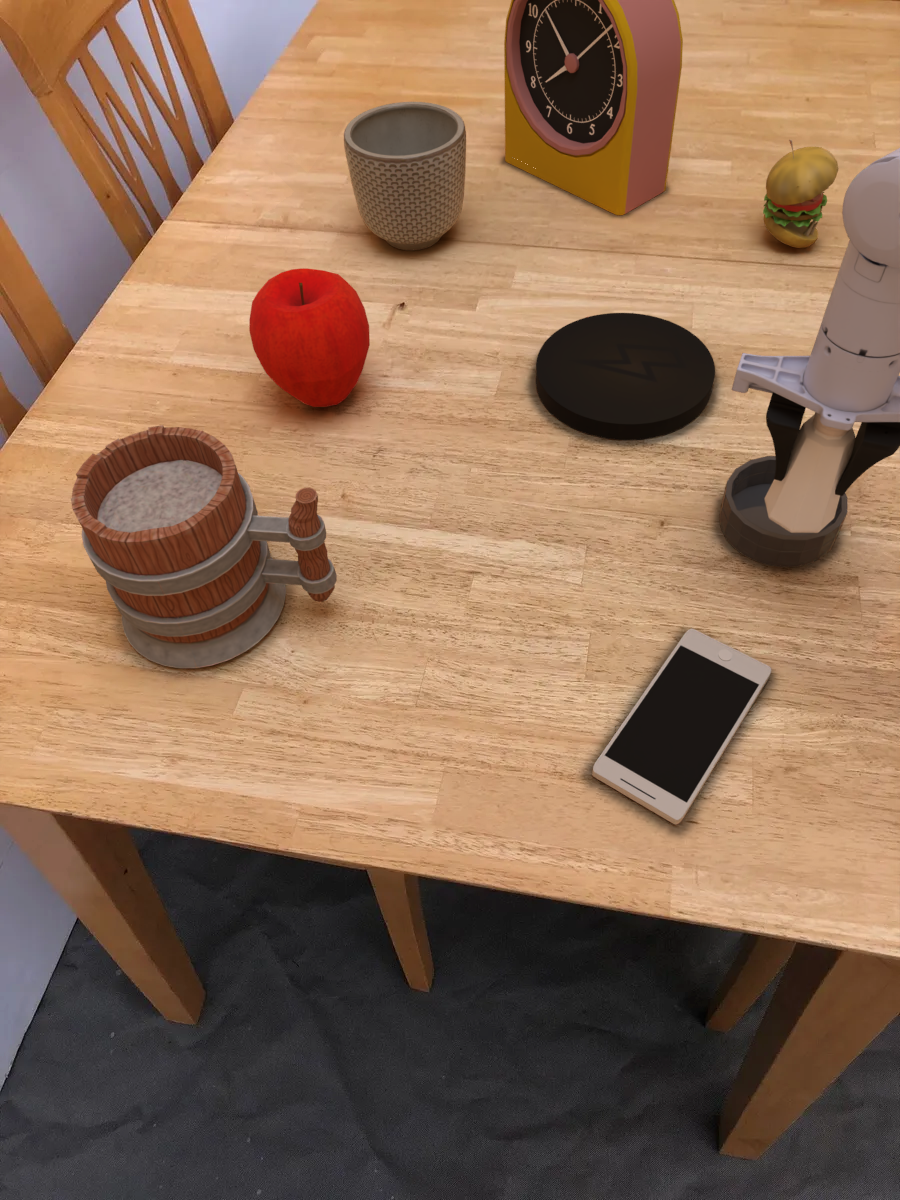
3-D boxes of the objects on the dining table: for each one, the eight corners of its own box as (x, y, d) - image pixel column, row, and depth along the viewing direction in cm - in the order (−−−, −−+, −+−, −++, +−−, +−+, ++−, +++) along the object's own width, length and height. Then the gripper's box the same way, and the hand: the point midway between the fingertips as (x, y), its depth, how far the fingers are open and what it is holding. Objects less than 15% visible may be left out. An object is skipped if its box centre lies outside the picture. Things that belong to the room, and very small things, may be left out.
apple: (244, 393, 97) (211, 280, 86) (335, 345, 101) (314, 231, 90) (308, 450, 91) (281, 335, 80) (401, 396, 95) (388, 281, 85)
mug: (154, 538, 84) (96, 411, 73) (360, 552, 82) (335, 422, 70) (99, 665, 76) (24, 544, 64) (327, 684, 74) (292, 561, 62)
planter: (487, 217, 116) (485, 110, 105) (440, 276, 108) (433, 167, 98) (389, 198, 120) (378, 93, 110) (337, 254, 112) (319, 147, 102)
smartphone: (771, 673, 72) (774, 666, 71) (678, 827, 64) (680, 821, 64) (687, 632, 75) (689, 625, 74) (589, 775, 67) (590, 768, 67)
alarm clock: (502, 160, 124) (500, -73, 104) (550, 136, 128) (557, -94, 107) (619, 216, 114) (643, -29, 93) (668, 188, 117) (701, -54, 97)
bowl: (836, 492, 84) (847, 463, 81) (835, 576, 78) (847, 548, 75) (723, 476, 85) (730, 448, 83) (714, 557, 80) (721, 530, 77)
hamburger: (824, 258, 106) (855, 154, 97) (761, 261, 106) (785, 158, 97) (808, 222, 111) (835, 120, 102) (747, 225, 111) (769, 124, 102)
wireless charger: (508, 355, 98) (508, 339, 97) (657, 312, 102) (659, 296, 100) (582, 460, 88) (583, 445, 86) (746, 409, 91) (750, 393, 89)
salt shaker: (755, 523, 72) (792, 416, 63) (771, 477, 75) (808, 369, 66) (826, 544, 71) (873, 437, 62) (840, 496, 74) (887, 388, 65)
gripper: (741, 343, 59) (702, 490, 70) (984, 394, 55) (904, 541, 66) (762, 281, 63) (723, 430, 74) (991, 325, 59) (914, 475, 70)
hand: (809, 478), depth 70 cm, fingers closed on salt shaker, 4 cm apart
